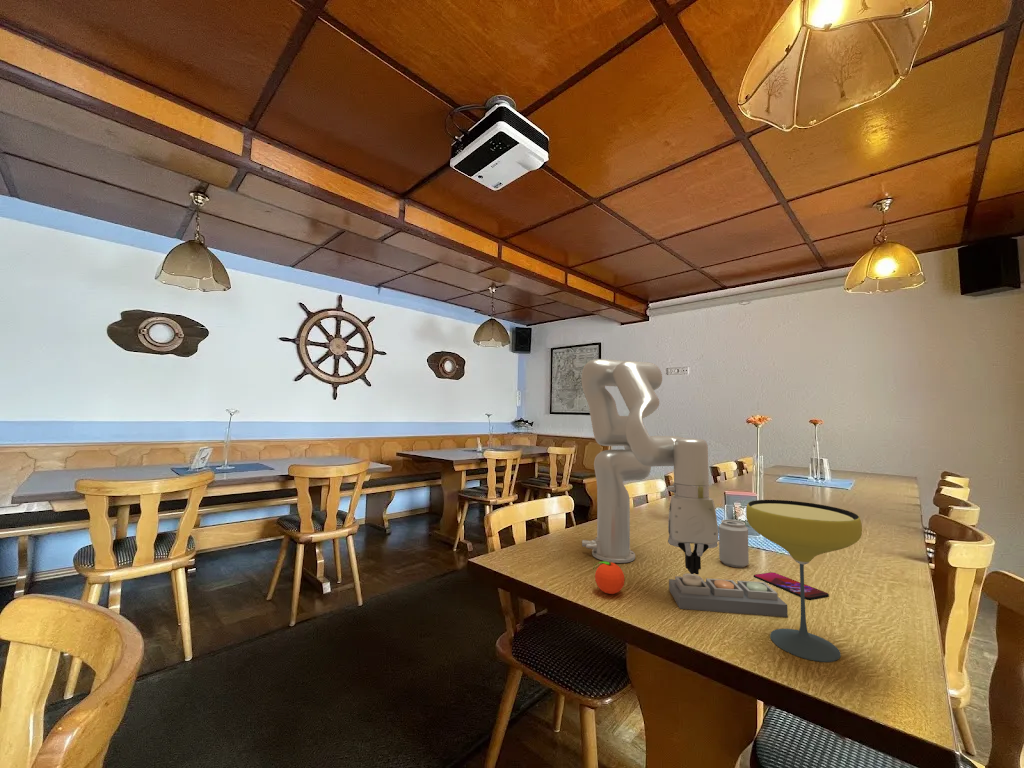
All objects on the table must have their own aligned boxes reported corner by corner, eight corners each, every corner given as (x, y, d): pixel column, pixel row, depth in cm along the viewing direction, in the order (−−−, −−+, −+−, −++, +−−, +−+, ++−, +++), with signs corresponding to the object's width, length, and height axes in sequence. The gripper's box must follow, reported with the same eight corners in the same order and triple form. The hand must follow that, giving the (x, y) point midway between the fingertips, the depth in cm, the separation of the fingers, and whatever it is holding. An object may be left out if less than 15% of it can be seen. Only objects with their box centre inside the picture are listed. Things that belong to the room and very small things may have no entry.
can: (741, 560, 124) (740, 518, 125) (753, 569, 116) (752, 525, 117) (715, 558, 124) (714, 517, 125) (725, 567, 117) (724, 524, 118)
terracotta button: (717, 593, 94) (717, 586, 94) (711, 586, 98) (711, 579, 98) (736, 594, 93) (736, 587, 93) (730, 587, 97) (729, 580, 97)
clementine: (585, 591, 100) (585, 561, 100) (599, 583, 105) (600, 554, 106) (616, 602, 95) (616, 569, 95) (629, 592, 100) (629, 562, 100)
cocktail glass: (881, 652, 76) (875, 513, 78) (846, 689, 66) (840, 527, 67) (773, 612, 91) (770, 496, 92) (730, 637, 80) (728, 505, 82)
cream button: (685, 586, 95) (685, 579, 95) (680, 579, 99) (680, 573, 99) (703, 588, 94) (703, 580, 94) (698, 581, 98) (698, 574, 98)
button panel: (679, 608, 92) (679, 590, 92) (669, 589, 102) (668, 572, 102) (787, 617, 89) (787, 597, 89) (765, 596, 99) (765, 579, 99)
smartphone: (773, 571, 114) (830, 593, 100) (773, 575, 114) (831, 597, 100) (751, 574, 111) (807, 598, 97) (751, 578, 111) (808, 601, 97)
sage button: (751, 595, 93) (751, 588, 93) (743, 588, 97) (743, 581, 97) (770, 597, 92) (770, 589, 92) (762, 589, 96) (762, 582, 96)
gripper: (661, 493, 95) (663, 576, 94) (731, 495, 93) (733, 580, 92) (655, 487, 103) (656, 564, 101) (719, 489, 101) (721, 568, 99)
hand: (693, 572), depth 96 cm, fingers closed
